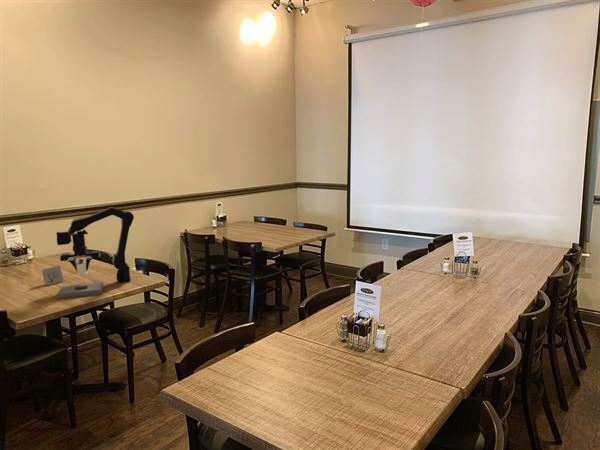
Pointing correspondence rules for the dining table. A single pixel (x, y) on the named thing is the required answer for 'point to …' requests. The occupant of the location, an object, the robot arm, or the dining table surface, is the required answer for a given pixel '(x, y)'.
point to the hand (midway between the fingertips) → (82, 271)
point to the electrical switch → (52, 275)
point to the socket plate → (80, 290)
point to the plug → (81, 268)
